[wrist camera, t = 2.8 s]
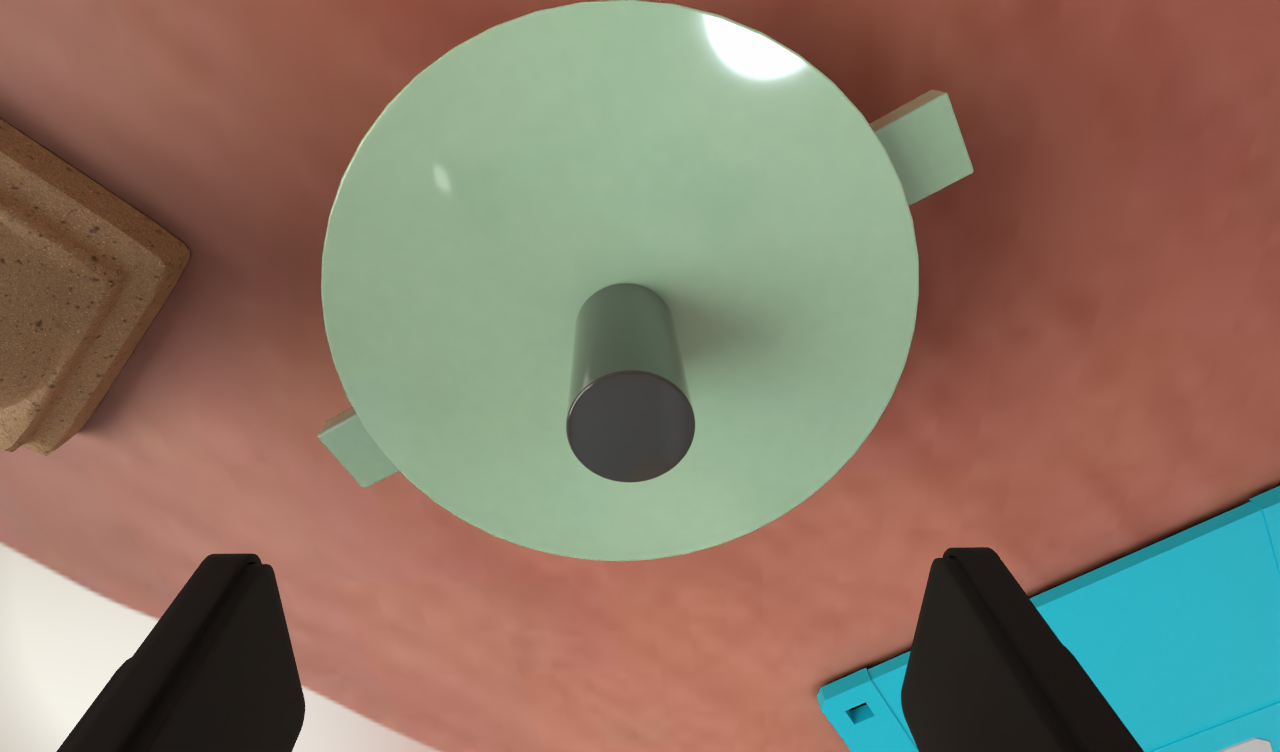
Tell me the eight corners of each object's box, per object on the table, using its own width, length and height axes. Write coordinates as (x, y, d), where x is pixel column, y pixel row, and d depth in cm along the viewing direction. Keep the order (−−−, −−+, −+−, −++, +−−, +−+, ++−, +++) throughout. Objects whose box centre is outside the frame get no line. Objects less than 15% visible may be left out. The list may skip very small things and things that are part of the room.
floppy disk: (1313, 467, 35) (1331, 479, 34) (1384, 787, 47) (1399, 802, 46) (812, 688, 41) (816, 703, 40) (985, 927, 52) (991, 943, 51)
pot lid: (205, 207, 20) (37, 294, 14) (761, -146, 17) (844, -225, 11) (536, 607, 27) (517, 779, 21) (977, 403, 24) (1100, 537, 18)
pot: (270, 196, 28) (145, 269, 20) (784, -125, 24) (866, -184, 17) (503, 494, 34) (474, 634, 27) (939, 277, 30) (1050, 368, 23)
